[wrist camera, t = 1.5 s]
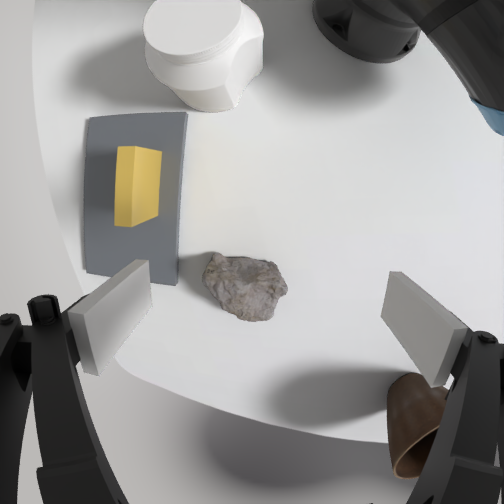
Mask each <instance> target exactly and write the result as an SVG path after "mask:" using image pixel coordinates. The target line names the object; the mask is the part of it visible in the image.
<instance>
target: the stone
mask: <svg viewBox="0 0 504 504" xmlns="http://www.w3.org/2000/svg"><path fill="white" fill-rule="evenodd" d="M202 283H203V284H204V285H205V286H206V287H207V288H208V289H209V290H210V292H211V294H212V295H213V296H214V297H215V298H216V299H217V300H219V302H220V304H221V307H222V309H223V310H225V311H228V312H229V313H231V314H235V315H236V316H237V317H238V318H239V319H241V320H244V321H245V320H247V321H251V322H256V321H264V320H269V319H270V318H272V317H273V315H274V309H275V307H276V304H277V302H278V299H279V298H280V297H281V296H283V295H286V293H287V291H288V287H287V285H286V283H285V281H284V279H283V278H282V276H281V273H280V272H279V270H278V267H277V265H276V264H274V263H273V262H271V261H270V262H263V261H259V260H256V259H251V258H240V257H236V258H227V257H224V256H222V254H220V253H216V254H214V255H213V257H212V260H211V261H210V262H209V264H208V266H207V267H206V270H205V272H204V273H203V275H202Z"/></svg>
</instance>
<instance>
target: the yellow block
mask: <svg viewBox="0 0 504 504" xmlns="http://www.w3.org/2000/svg"><path fill="white" fill-rule="evenodd" d="M161 159H162V151H157V150H153V149H148V148H143V147H138V146H119V147H118V151H117V164H116V181H115V216H114V226H122V227H133V226H136V225H138V224H140V223H142V222H145V221H147V220H149V219H152V218H154V217H157V216H158V206H159V186H160V171H161Z"/></svg>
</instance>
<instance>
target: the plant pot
mask: <svg viewBox="0 0 504 504" xmlns="http://www.w3.org/2000/svg"><path fill="white" fill-rule="evenodd" d="M448 391H449V390H448V389H446V388H445V387H443V386H438V387H433V388H431V387H430V385H429V384H428V382H427V381H426V379H425V378H424V376H423V375H421V374H418V373H410V374H407V375H404V376H402V377H401V378H399V379H398V380H397V381H396V382H394V383H393V385H392V386H391V387H390V389H389V391H388V396H387V430H388V442H389V450H390V456H391V462H392V468H393V473H394V475H395V476H396V477H398V478H401V479H412V478H417V477H420V474H421V472H422V470H423V468H424V465H425V463H426V460H427V458H428V456H429V453H430V450H431V448H432V445H433V443H434V440H435V437H436V434H437V431H438V428H439V425H440V422H441V419H442V416H443V413H444V410H445V406H446V403H447V400H444V399H445V397H446V395H447V393H448Z"/></svg>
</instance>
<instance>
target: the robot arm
mask: <svg viewBox="0 0 504 504" xmlns="http://www.w3.org/2000/svg"><path fill="white" fill-rule="evenodd" d="M313 16H314V19H315V21H316V23H317V25H318V27H319V29H320V30H321V32H322V33H323V34H324V35H325V36H326V38H327V39H328V40H329V41H331V42H332V43H333V44H334V45H335V46H337V47H338V48H339V49H341V50H342V51H344V52H346V53H347V54H349V55H351V56H354V57H356V58H358V59H361V60H364V61H368V62H373V63H391V62H395V61H398V60H400V59H401V58H403V57H404V56H406V55H407V54H408V53H409V52H411V51H412V50H413V48H414V47H415V45H416V43H417V41H418V38H419V35H420V32H421V30H422V31H423V32H424V33H425V34H426V36H427V37H428V38H429V39H430V41H431V42H432V43H433V44H434V46H435V47H436V48H437V49H438V50H439V52H440V53H441V54H442V56H443V57H444V58H445V60H446V61H447V62H448V64H449V65H450V66H451V68H452V69H453V70H454V72H455V73H456V75H457V76H458V78H459V79H460V81H461V82H462V84H463V85H464V87H465V88H466V90H467V92H468V93H469V97H470V99H471V101H472V102H473V103H474V104H475V105H476V106H477V107H478V109H479V110H480V112H481V113H482V115H483V117H484V118H485V120H486V122H487V123H488V125H489V126H490V127H491V128H492V129H493V130H494V131H495V132H496V133H498V134H500V135H502V136H504V0H314V1H313ZM27 305H28V309H29V313H30V317H31V321H32V326H28V325H22V324H21V321H20V318H19V316H18V315H17V314H8V313H6V314H3V315H1V316H0V504H17V491H18V490H17V489H18V475H19V465H20V456H21V448H22V441H23V435H24V429H25V424H26V418H27V413H28V409H29V404H30V400H31V395H32V391H33V401H34V412H35V420H36V428H37V434H38V441H39V447H40V453H41V457H42V462H43V467H40V468H37V471H36V473H37V480H38V484H39V489H40V493H41V496H42V500H43V503H44V504H129V503H128V501H127V499H126V497H125V495H124V494H123V492H122V490H121V488H120V486H119V484H118V482H117V480H116V477H115V476H114V473H113V471H112V469H111V467H110V465H109V462H108V460H107V458H106V456H105V453H104V451H103V448H102V446H101V444H100V441H99V438H98V436H97V433H96V430H95V427H94V425H93V422H92V419H91V416H90V413H89V410H88V407H87V404H86V401H85V398H84V394H83V391H82V387H81V384H80V380H79V376H78V373H77V369H76V365H77V363H78V362H79V361H80V362H81V365H82V368H83V371H84V372H85V373H89V374H93V375H96V376H100V374H101V373H102V372H103V370H104V369H105V368H106V366H107V365H108V364H109V362H110V361H111V360H112V358H113V357H114V356H115V354H116V353H117V352H118V350H119V349H120V348H121V346H122V345H123V344H124V342H125V341H126V340H127V338H128V337H129V336H130V334H131V333H132V332H133V331H134V329H135V328H136V327H137V325H138V324H139V323H140V321H141V320H142V319H143V318H144V316H145V315H146V314H147V313H148V311H149V310H150V309H151V307H152V297H151V286H150V273H149V260H140V259H136V260H134V261H133V262H132V263H130V264H129V265H127V266H126V267H125V268H123V269H122V270H121V271H119V272H118V273H117V274H115V275H114V276H113V277H111V278H110V279H109V280H107V281H106V282H105V283H103V284H102V285H101V286H99V287H98V288H97V289H95V290H94V291H93V292H91V293H90V294H88V295H85V296H83V297H81V298H80V299H79V300H78V301H77V302H75V303H74V304H72V306H70V307H69V308H67V309H66V310H65V311H63V312H62V313H61V312H60V308H59V303H58V299H57V297H56V296H54V295H41V296H37V297H34V298H32V299H31V300H30V301H28V303H27ZM381 318H382V319H383V320H384V322H385V323H386V324H387V326H388V327H389V328H390V330H391V331H392V332H393V334H394V335H395V337H396V338H397V339H398V341H399V342H400V344H401V345H402V346H403V348H404V349H405V351H406V352H407V353H408V355H409V356H410V358H411V359H412V360H413V362H414V363H415V365H416V366H417V368H418V369H419V371H420V372H421V374H422V375H423V376H424V378H425V379H426V381H427V382H428V384H429V385H430V387H431V388H433V387H438V386H443V385H445V384H446V382H447V379H448V377H449V375H450V373H451V374H452V376H453V377H454V381H453V383H452V385H451V387H450V389H449V391H448V393H447V395H446V397H445V399H444V400H447V403H446V406H445V410H444V413H443V416H442V419H441V422H440V425H439V428H438V431H437V434H436V437H435V440H434V443H433V445H432V448H431V450H430V453H429V456H428V458H427V460H426V463H425V465H424V468H423V470H422V472H421V474H420V477H419V479H418V481H417V483H416V485H415V487H414V489H413V491H412V493H411V495H410V497H409V499H408V501H407V503H406V504H497V503H498V499H499V494H500V489H501V494H502V495H501V497H502V504H504V344H499V343H498V340H497V338H496V337H495V336H494V335H492V334H490V333H488V332H485V331H475V332H473V331H472V330H471V329H470V328H469V327H468V326H467V325H465V324H464V323H463V322H461V320H460V319H459V318H457V317H456V316H455V315H454V314H453V313H452V312H450V311H448V310H447V309H446V308H445V307H444V306H443V305H441V304H440V303H439V302H438V301H437V300H436V299H434V298H433V297H432V296H431V295H430V294H428V293H427V292H426V291H425V290H423V289H422V288H421V287H420V286H419V285H417V284H416V283H415V282H414V281H412V280H411V279H410V278H409V277H407V276H406V275H405V274H404V273H402V272H392V271H390V273H389V278H388V284H387V289H386V294H385V299H384V303H383V308H382V312H381ZM497 444H498V451H499V461H500V467H495V466H494V461H495V454H496V446H497ZM371 504H373V503H371Z"/></svg>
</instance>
